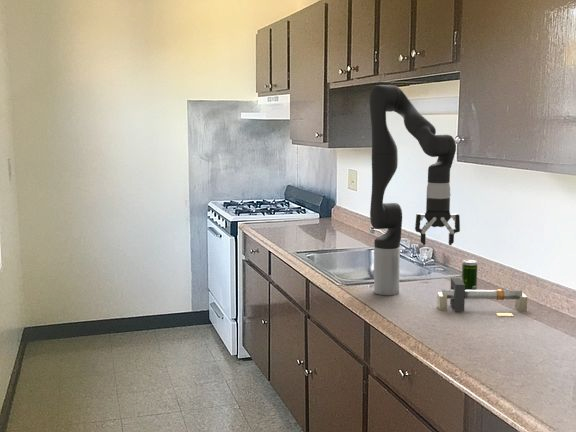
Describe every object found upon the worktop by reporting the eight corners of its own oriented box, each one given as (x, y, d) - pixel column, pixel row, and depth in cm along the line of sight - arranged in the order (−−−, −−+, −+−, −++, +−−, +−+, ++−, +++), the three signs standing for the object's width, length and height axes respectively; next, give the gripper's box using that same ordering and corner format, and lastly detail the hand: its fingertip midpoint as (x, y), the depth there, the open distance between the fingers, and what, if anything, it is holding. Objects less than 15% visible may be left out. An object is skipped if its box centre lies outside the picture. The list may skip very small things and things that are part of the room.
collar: (455, 311, 214) (455, 284, 212) (450, 303, 223) (450, 278, 221) (464, 311, 213) (465, 284, 212) (459, 303, 222) (459, 278, 221)
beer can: (479, 293, 237) (480, 261, 236) (472, 296, 234) (473, 263, 232) (465, 290, 241) (466, 258, 239) (458, 293, 237) (459, 261, 235)
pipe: (442, 316, 210) (443, 295, 209) (437, 306, 221) (437, 287, 220) (532, 317, 208) (532, 296, 207) (522, 307, 219) (523, 287, 218)
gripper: (458, 194, 215) (456, 242, 217) (415, 194, 216) (413, 242, 219) (462, 197, 207) (460, 247, 210) (417, 197, 209) (416, 246, 211)
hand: (436, 244), depth 214 cm, fingers open, 8 cm apart
